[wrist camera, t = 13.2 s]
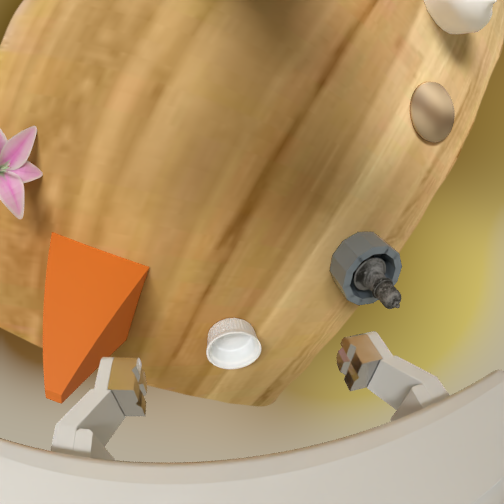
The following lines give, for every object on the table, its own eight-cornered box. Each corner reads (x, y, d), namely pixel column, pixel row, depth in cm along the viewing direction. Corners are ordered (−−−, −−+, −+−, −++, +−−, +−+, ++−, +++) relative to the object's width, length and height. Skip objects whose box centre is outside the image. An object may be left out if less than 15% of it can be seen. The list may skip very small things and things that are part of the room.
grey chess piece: (378, 266, 48) (418, 308, 37) (350, 284, 48) (385, 331, 38) (369, 240, 45) (413, 281, 34) (339, 259, 45) (376, 306, 35)
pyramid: (52, 231, 35) (-17, 322, 18) (150, 266, 41) (131, 379, 24) (44, 310, 41) (4, 403, 24) (126, 339, 47) (113, 442, 29)
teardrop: (472, 29, 29) (522, 30, 19) (441, 40, 30) (496, 39, 20) (446, -23, 24) (494, -32, 13) (411, -18, 25) (463, -32, 15)
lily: (36, 214, 34) (33, 225, 27) (-30, 207, 27) (-49, 216, 20) (53, 133, 33) (54, 122, 26) (-14, 123, 25) (-29, 111, 18)
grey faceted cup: (336, 232, 44) (351, 248, 39) (390, 231, 45) (408, 244, 41) (325, 289, 49) (337, 308, 44) (377, 283, 50) (390, 300, 46)
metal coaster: (412, 74, 33) (414, 74, 33) (454, 90, 35) (456, 91, 34) (406, 136, 38) (409, 137, 37) (448, 145, 40) (450, 146, 39)
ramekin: (204, 352, 51) (206, 370, 47) (204, 315, 47) (206, 333, 43) (253, 350, 53) (258, 367, 49) (258, 313, 48) (264, 331, 45)
